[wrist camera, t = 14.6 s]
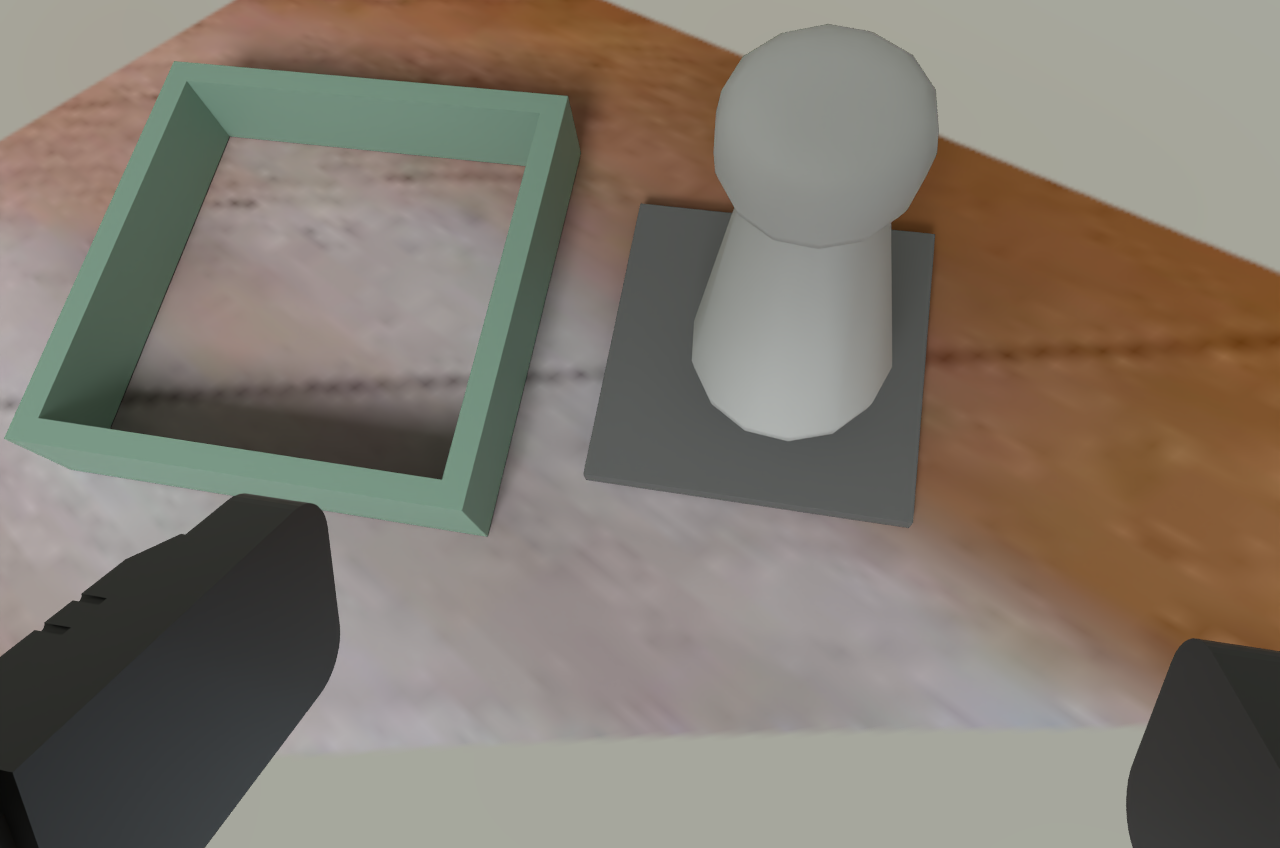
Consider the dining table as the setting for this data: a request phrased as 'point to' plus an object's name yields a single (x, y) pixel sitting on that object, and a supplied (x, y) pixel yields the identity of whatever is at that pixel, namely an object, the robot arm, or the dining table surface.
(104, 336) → the square frame
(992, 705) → the dining table surface
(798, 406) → the salt shaker
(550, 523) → the dining table surface
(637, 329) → the rubber mat
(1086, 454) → the dining table surface
